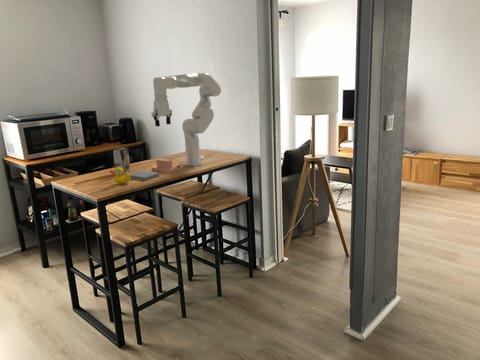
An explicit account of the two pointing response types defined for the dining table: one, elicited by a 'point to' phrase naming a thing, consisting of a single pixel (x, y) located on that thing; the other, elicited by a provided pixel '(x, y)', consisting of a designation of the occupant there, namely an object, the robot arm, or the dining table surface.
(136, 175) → the ticket board
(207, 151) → the dining table surface
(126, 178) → the duckling
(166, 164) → the stub
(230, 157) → the dining table surface
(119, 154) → the coffee box
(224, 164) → the dining table surface
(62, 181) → the dining table surface
